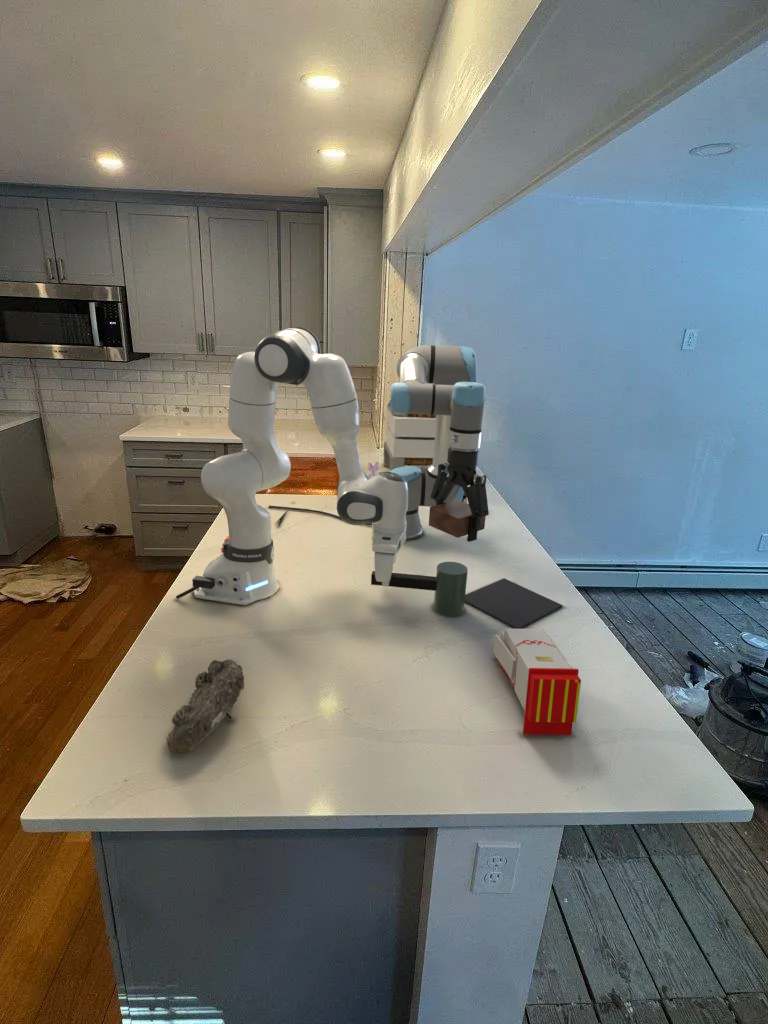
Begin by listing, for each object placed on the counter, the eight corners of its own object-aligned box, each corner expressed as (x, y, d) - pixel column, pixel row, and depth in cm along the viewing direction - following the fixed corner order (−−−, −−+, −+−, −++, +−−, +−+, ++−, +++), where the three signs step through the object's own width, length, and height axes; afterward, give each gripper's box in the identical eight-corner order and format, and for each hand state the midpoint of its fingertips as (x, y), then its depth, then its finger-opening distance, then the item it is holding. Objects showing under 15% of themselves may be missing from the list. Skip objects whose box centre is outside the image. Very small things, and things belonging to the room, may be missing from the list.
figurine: (369, 502, 230) (370, 466, 225) (359, 494, 239) (360, 460, 234) (390, 499, 234) (391, 464, 229) (378, 492, 243) (380, 458, 238)
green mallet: (463, 602, 155) (467, 562, 151) (463, 617, 147) (467, 576, 143) (373, 594, 157) (374, 554, 153) (368, 608, 150) (370, 567, 146)
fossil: (192, 660, 117) (244, 628, 112) (224, 691, 120) (276, 661, 115) (142, 746, 98) (202, 712, 93) (182, 779, 101) (242, 748, 96)
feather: (294, 505, 227) (296, 501, 226) (277, 528, 200) (280, 524, 199) (290, 503, 226) (292, 499, 226) (273, 526, 200) (276, 521, 199)
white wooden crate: (382, 463, 289) (386, 382, 275) (445, 464, 293) (451, 384, 279) (390, 482, 257) (394, 392, 243) (460, 483, 261) (468, 394, 247)
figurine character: (467, 516, 223) (461, 500, 237) (469, 499, 220) (463, 483, 233) (450, 516, 223) (446, 499, 236) (452, 498, 220) (447, 483, 233)
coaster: (458, 599, 156) (458, 597, 156) (503, 580, 169) (504, 578, 169) (517, 630, 142) (518, 628, 142) (562, 607, 155) (562, 605, 155)
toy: (540, 612, 132) (590, 675, 102) (535, 665, 134) (582, 742, 105) (489, 611, 131) (523, 674, 102) (484, 665, 134) (517, 741, 105)
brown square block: (428, 525, 144) (429, 507, 142) (455, 517, 150) (456, 499, 149) (457, 538, 137) (459, 518, 135) (484, 529, 143) (486, 510, 141)
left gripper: (382, 519, 156) (380, 564, 161) (371, 548, 137) (369, 598, 142) (404, 521, 156) (402, 566, 160) (397, 550, 137) (394, 601, 141)
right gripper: (420, 440, 142) (414, 523, 150) (490, 461, 126) (480, 552, 134) (440, 437, 147) (434, 517, 155) (511, 456, 131) (500, 544, 139)
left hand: (386, 582), depth 151 cm, fingers closed on green mallet, 2 cm apart
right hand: (455, 533), depth 144 cm, fingers closed on brown square block, 10 cm apart
